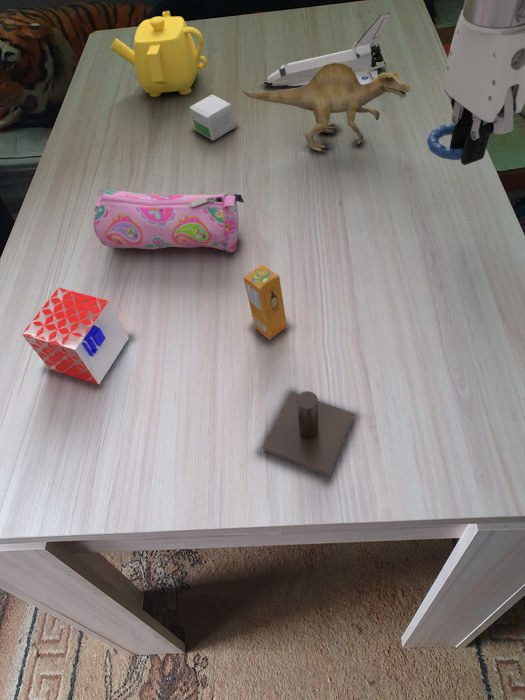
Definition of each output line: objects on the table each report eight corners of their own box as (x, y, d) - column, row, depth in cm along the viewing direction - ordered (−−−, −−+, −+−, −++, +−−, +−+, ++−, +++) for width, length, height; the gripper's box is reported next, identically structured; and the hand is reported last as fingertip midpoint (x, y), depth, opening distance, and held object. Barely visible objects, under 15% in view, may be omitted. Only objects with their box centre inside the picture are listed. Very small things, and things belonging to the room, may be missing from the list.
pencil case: (248, 223, 83) (240, 174, 76) (238, 265, 78) (228, 217, 70) (121, 221, 87) (101, 174, 79) (103, 260, 81) (81, 215, 74)
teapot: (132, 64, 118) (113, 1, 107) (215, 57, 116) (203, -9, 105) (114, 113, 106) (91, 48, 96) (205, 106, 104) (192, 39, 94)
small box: (194, 130, 100) (188, 106, 96) (217, 117, 101) (212, 92, 97) (212, 142, 97) (207, 117, 93) (236, 128, 99) (232, 103, 95)
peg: (354, 417, 61) (357, 382, 55) (328, 477, 58) (328, 446, 51) (291, 395, 64) (287, 358, 58) (263, 451, 60) (255, 418, 54)
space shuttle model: (260, 67, 111) (254, 16, 103) (376, 49, 110) (380, -5, 102) (268, 106, 102) (263, 53, 94) (395, 86, 101) (401, 31, 93)
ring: (487, 135, 73) (489, 126, 72) (474, 166, 69) (476, 156, 68) (435, 127, 75) (436, 118, 74) (420, 156, 72) (421, 147, 71)
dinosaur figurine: (402, 146, 90) (412, 68, 79) (250, 157, 93) (240, 83, 82) (397, 121, 95) (406, 44, 84) (252, 132, 97) (242, 59, 86)
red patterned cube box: (81, 324, 74) (58, 287, 68) (129, 337, 72) (109, 300, 66) (49, 370, 70) (21, 334, 64) (98, 385, 68) (74, 350, 61)
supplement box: (271, 313, 72) (263, 261, 64) (287, 327, 70) (282, 276, 62) (252, 327, 71) (242, 275, 63) (268, 341, 69) (260, 291, 61)
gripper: (584, 20, 52) (528, 178, 67) (484, -29, 61) (455, 119, 76) (520, 41, 51) (477, 197, 66) (428, -12, 60) (409, 135, 75)
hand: (465, 154), depth 71 cm, fingers closed on ring
